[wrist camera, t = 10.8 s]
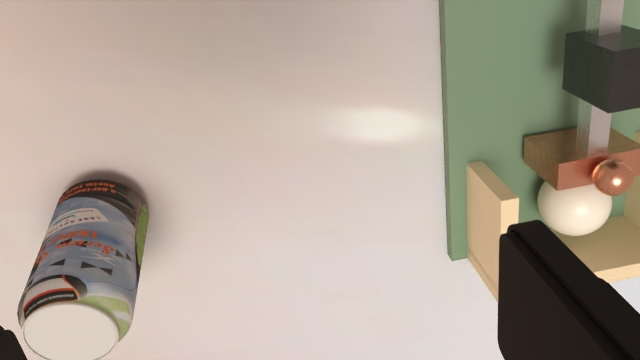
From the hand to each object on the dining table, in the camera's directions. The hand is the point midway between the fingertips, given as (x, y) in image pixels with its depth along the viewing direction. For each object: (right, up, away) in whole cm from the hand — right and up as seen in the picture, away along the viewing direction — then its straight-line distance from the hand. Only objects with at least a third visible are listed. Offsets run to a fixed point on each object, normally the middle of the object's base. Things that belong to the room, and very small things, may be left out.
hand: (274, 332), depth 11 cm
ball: (+20, +1, +30) cm, 36 cm away
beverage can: (-14, 0, +29) cm, 33 cm away
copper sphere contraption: (+18, +11, +28) cm, 35 cm away
